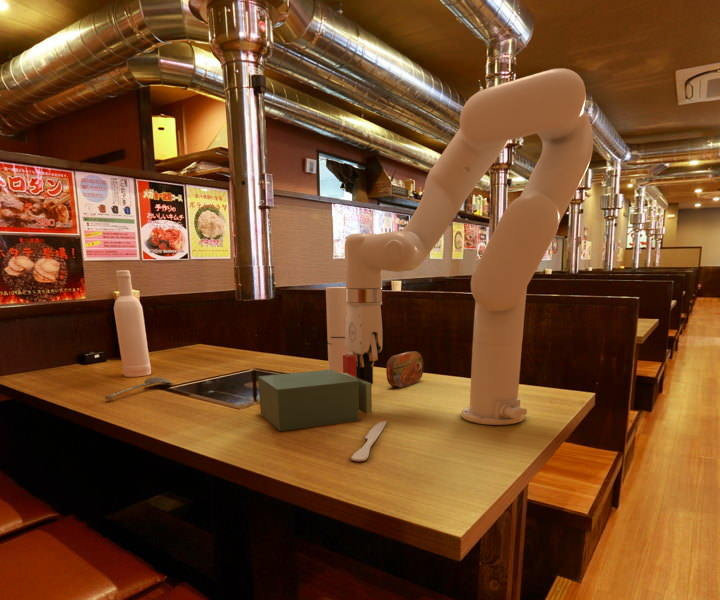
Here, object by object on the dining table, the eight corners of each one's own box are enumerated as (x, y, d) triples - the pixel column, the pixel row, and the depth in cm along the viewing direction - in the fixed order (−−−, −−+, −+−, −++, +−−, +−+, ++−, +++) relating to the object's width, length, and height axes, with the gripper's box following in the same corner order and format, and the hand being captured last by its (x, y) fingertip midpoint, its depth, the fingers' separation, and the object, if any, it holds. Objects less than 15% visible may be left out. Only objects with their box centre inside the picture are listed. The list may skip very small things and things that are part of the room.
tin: (394, 390, 141) (394, 357, 139) (383, 388, 143) (383, 356, 141) (424, 380, 153) (425, 349, 150) (414, 379, 155) (415, 348, 152)
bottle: (145, 377, 164) (130, 270, 155) (119, 377, 164) (102, 270, 155) (155, 372, 172) (141, 270, 162) (130, 372, 172) (115, 270, 162)
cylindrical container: (345, 386, 147) (343, 288, 139) (323, 383, 150) (320, 287, 142) (360, 381, 152) (358, 286, 144) (338, 379, 156) (336, 286, 148)
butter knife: (347, 458, 90) (365, 459, 90) (377, 420, 113) (391, 420, 112) (347, 461, 91) (365, 462, 90) (377, 422, 113) (391, 422, 112)
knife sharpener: (367, 393, 138) (367, 353, 135) (349, 396, 136) (348, 355, 133) (361, 391, 141) (361, 351, 138) (343, 393, 139) (342, 353, 136)
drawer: (351, 399, 128) (350, 372, 126) (377, 413, 116) (376, 382, 114) (281, 408, 122) (279, 379, 120) (300, 423, 110) (298, 391, 108)
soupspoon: (178, 387, 153) (159, 386, 155) (176, 374, 152) (157, 374, 154) (118, 402, 133) (97, 401, 135) (115, 388, 132) (94, 387, 135)
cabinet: (332, 405, 127) (331, 369, 125) (358, 420, 114) (358, 380, 112) (260, 414, 121) (257, 376, 118) (279, 431, 108) (277, 389, 105)
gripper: (334, 296, 120) (336, 379, 126) (362, 299, 107) (362, 393, 113) (365, 295, 123) (366, 377, 129) (396, 298, 110) (395, 389, 116)
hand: (364, 384), depth 121 cm, fingers closed
